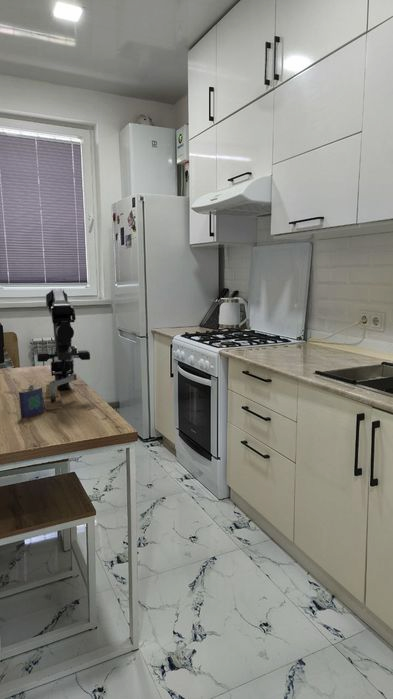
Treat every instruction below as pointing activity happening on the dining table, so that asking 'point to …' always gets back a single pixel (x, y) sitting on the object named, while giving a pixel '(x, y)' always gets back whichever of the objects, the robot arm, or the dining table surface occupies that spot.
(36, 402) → the flask
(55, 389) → the light wooden cube
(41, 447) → the dining table surface
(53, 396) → the lever
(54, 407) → the plane body
